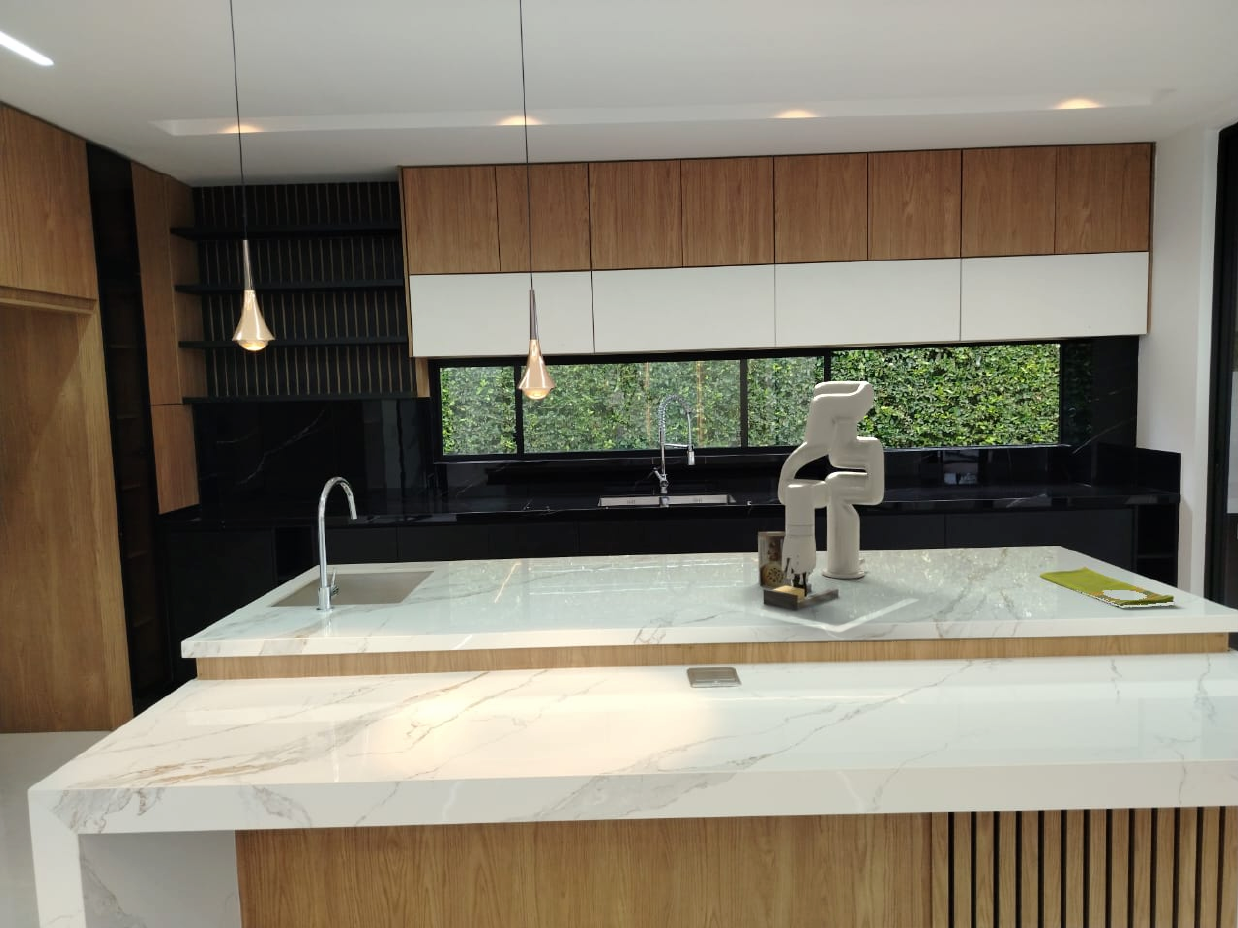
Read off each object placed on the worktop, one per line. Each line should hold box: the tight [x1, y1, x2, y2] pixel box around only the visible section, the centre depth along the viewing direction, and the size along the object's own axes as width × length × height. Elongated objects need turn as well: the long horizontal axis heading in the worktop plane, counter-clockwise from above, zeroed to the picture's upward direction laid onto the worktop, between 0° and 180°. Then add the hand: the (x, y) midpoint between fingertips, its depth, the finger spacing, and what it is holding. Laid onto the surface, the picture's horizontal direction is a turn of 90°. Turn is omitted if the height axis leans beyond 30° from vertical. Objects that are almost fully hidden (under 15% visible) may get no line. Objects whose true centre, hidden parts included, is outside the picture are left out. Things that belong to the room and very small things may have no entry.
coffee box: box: [757, 531, 792, 587], centre depth 249 cm, size 9×6×16 cm
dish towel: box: [1039, 566, 1175, 606], centre depth 239 cm, size 15×36×3 cm, turn 7°
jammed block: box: [772, 585, 804, 599], centre depth 227 cm, size 6×6×4 cm
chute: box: [763, 582, 839, 612], centre depth 231 cm, size 20×14×5 cm
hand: (800, 597), depth 231 cm, fingers closed
